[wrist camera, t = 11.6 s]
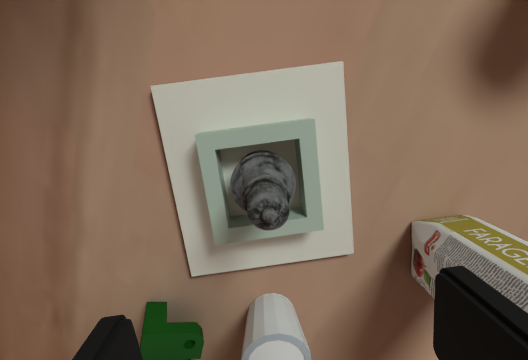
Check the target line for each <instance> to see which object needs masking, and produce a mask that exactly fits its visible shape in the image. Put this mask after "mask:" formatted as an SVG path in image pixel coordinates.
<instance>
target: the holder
mask: <svg viewBox="0 0 528 360" xmlns="http://www.w3.org/2000/svg"><path fill="white" fill-rule="evenodd" d="M151 90H152V95H153V100H154V104H155V109H156V114H157V118H158V123H159V128H160V132H161V137H162V142H163V146H164V151H165V155H166V160H167V165H168V169H169V174H170V179H171V183H172V188H173V193H174V197H175V202H176V207H177V211H178V216H179V220H180V225H181V230H182V234H183V239H184V244H185V248H186V253H187V258H188V262H189V267H190V271H191V276H192V277H193V276H200V275H207V274H214V273H221V272H228V271H235V270H242V269H249V268H256V267H263V266H270V265H277V264H284V263H291V262H298V261H305V260H312V259H319V258H326V257H333V256H340V255H347V254H354V248H353V231H352V213H351V195H350V177H349V159H348V141H347V123H346V105H345V87H344V70H343V61H340V62H332V63H324V64H317V65H309V66H301V67H294V68H286V69H278V70H271V71H263V72H255V73H248V74H240V75H232V76H224V77H217V78H209V79H201V80H194V81H186V82H178V83H171V84H163V85H155V86H151ZM258 150H266V151H270V152H273V153H275V154H276V155H278V156H280V157H281V158H283V159H284V160H286V161H287V163H288V164H289V165H290V166H291V168H292V170H293V172H294V174H295V179H296V188H295V193H294V195H293V198H292V200H291V201H290V203H289V208H290V211H289V217H288V219H287V221H286V222H285V224H284V225H282V226H281V227H280V228H278V229H275V230H270V231H267V230H262V229H259V228H257V227H256V226H254V225H253V224H252V222H251V221H250V219H249V217H248V214H247V212H246V211H245V210H243V209H242V208H241V207H240V206H239V205H238V204H237V203H236V202H235V200H234V198H233V196H232V193H231V188H230V183H231V176H232V173H233V171H234V169H235V167H236V166H237V165H238V163H239V162H240V161H241V159H242V158H243V157H245V156H246V155H247V154H249V153H251V152H253V151H258Z"/></svg>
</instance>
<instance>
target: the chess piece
mask: <svg viewBox="0 0 528 360" xmlns="http://www.w3.org/2000/svg"><path fill="white" fill-rule="evenodd" d="M230 188H231V193H232V196H233V198H234V200H235V202H236V203H237V204H238V205H239V206H240V207H241V208H242V209H243V210H245V211H246V212H247V214H248V217H249V219H250V221H251V222H252V224H253V225H254V226H256V227H257V228H259V229H262V230H267V231H270V230H275V229H278V228H280V227H281V226H282V225H284V224H285V222H286V221H287V219H288V217H289V211H290V208H289V203H290V201H291V200H292V198H293V195H294V193H295V188H296V179H295V174H294V172H293V170H292V168H291V166H290V165H289V164H288V163H287V161H286V160H284V159H283V158H281V157H280V156H278V155H276V154H275V153H273V152H270V151H266V150H258V151H253V152H251V153H249V154H247V155H246V156H245V157H243V158H242V159H241V161H240V162H239V163H238V165H237V166H236V167H235V169H234V171H233V173H232V176H231V183H230Z"/></svg>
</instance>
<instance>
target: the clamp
mask: <svg viewBox="0 0 528 360" xmlns="http://www.w3.org/2000/svg"><path fill="white" fill-rule="evenodd" d="M166 316H167V302H147V305H146V311H145V318H144V324H143V330H142V337H141V343H140V351H141V355H142V358H143V360H191V359H195V358H196V359H200V357H201V353H202V348H203V343H204V340H203V332H202V328H201V326H200V325H198V323H195V322H187V323H166Z"/></svg>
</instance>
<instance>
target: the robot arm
mask: <svg viewBox="0 0 528 360" xmlns="http://www.w3.org/2000/svg"><path fill="white" fill-rule="evenodd" d="M433 347H434V351H435V353H436V355H437V357H438V359H439V360H528V313H527V312H525V311H524V310H523V309H521V308H520V307H519V306H517V305H516V304H515V303H513V302H512V301H511V300H509V299H508V298H506V297H505V296H504V295H502V294H501V293H500V292H498V291H497V290H496V289H494V288H493V287H492V286H490V285H489V284H487V283H486V282H485V281H483V280H482V279H481V278H479V277H478V276H477V275H475V274H474V273H473V272H471V271H470V270H468V269H467V268H466V267H464V266H454V267H447V268H442V269H441V270H440V271H439V274H437V275H436V276H435V299H434V336H433ZM72 360H143V358H142V355H141V351H140V348H139V344H138V341H137V337H136V334H135V331H134V327H133V324H132V321H131V320H130V319H126V317H125V316H124V315H117V316H110V317H104V318H101V320H100V321H99V322H98V323H97V325H96V326H95V328H94V329H93V330H92V332H91V333H90V335H89V336H88V338H87V339H86V341H85V342H84V343H83V345H82V346H81V348H80V349H79V351H78V352H77V353H76V355H75V356H74V358H73V359H72Z"/></svg>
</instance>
